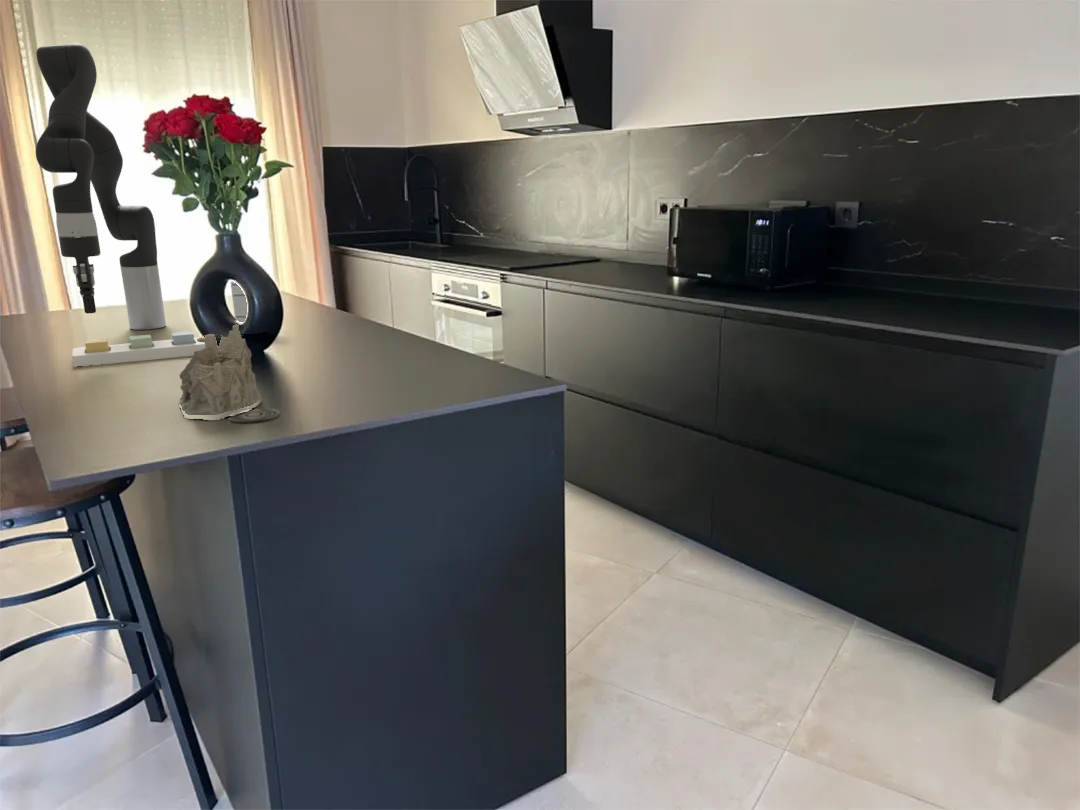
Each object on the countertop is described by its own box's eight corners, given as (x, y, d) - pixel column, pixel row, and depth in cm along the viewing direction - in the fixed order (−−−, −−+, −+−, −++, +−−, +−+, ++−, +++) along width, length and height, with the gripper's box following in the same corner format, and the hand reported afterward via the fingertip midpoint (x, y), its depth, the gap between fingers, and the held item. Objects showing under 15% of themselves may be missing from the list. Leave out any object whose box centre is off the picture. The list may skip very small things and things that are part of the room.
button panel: (75, 358, 179) (72, 345, 178) (222, 344, 194) (220, 332, 193) (73, 367, 171) (71, 353, 170) (227, 352, 185) (226, 339, 184)
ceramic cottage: (210, 391, 150) (199, 316, 145) (279, 402, 144) (271, 324, 139) (145, 418, 136) (131, 336, 131) (219, 432, 131) (207, 346, 126)
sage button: (131, 348, 182) (129, 336, 181) (152, 347, 184) (150, 334, 183) (132, 352, 178) (130, 339, 177) (153, 350, 180) (151, 337, 179)
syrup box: (258, 335, 206) (252, 280, 202) (236, 335, 206) (229, 280, 202) (265, 331, 212) (260, 278, 207) (244, 331, 212) (238, 278, 208)
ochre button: (87, 352, 177) (85, 340, 177) (109, 350, 179) (107, 338, 179) (87, 356, 174) (85, 343, 173) (109, 354, 176) (107, 341, 175)
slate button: (173, 345, 186) (171, 332, 185) (193, 343, 188) (191, 331, 187) (174, 348, 182) (173, 335, 181) (194, 346, 184) (193, 334, 183)
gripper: (59, 233, 173) (72, 310, 178) (56, 236, 162) (70, 318, 167) (97, 232, 177) (109, 307, 181) (97, 235, 165) (109, 315, 170)
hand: (90, 312), depth 174 cm, fingers closed
